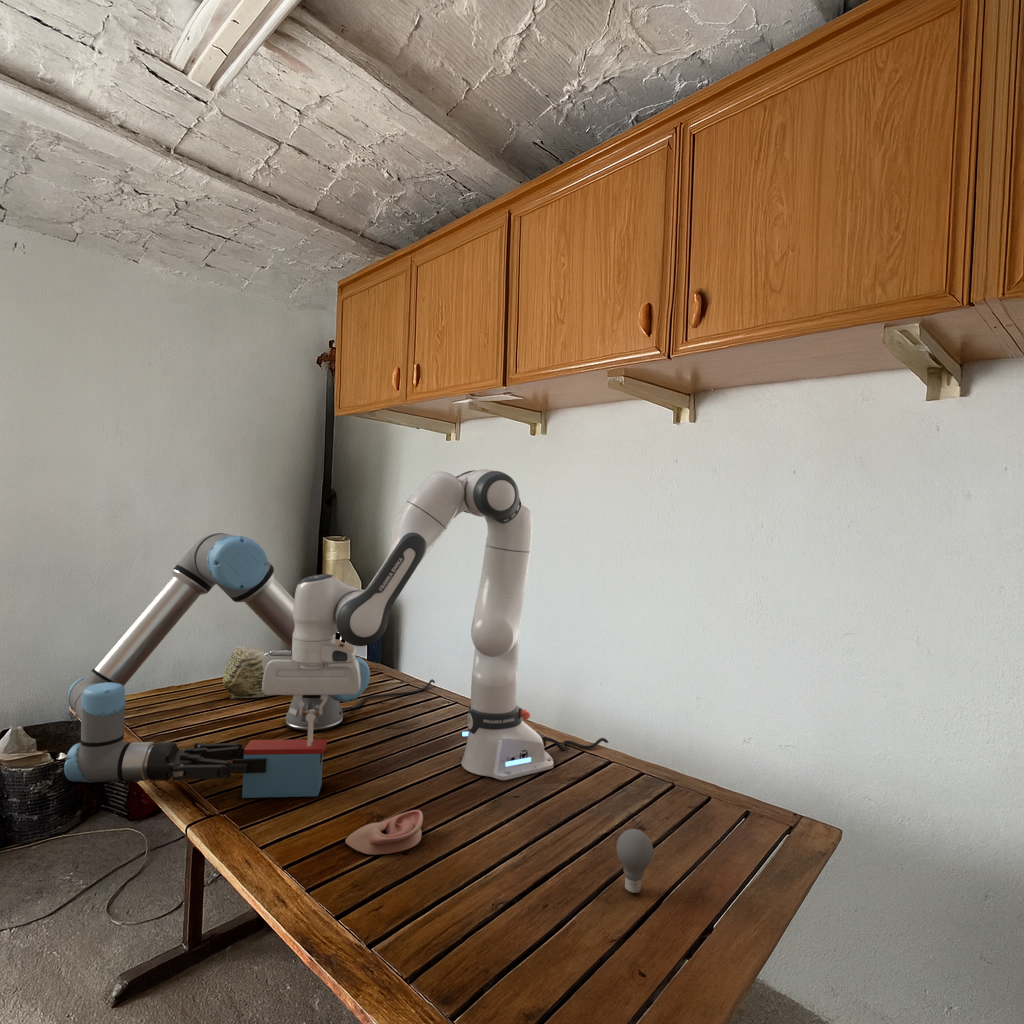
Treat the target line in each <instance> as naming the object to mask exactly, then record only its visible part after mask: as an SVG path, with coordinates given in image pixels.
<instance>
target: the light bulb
mask: <svg viewBox="0 0 1024 1024" xmlns="http://www.w3.org/2000/svg"><path fill="white" fill-rule="evenodd" d="M615 849H616V854H617V857H618V859H619V861H620V863H621V865H622V867H623V873H624V874H623V875H624V876H625V878H624V888H625V890H627V891H628V892H630V893H634V894H635V893H639V892H640V891H641V889H642V887H641V886H642V879H643V877H644V875H645V871H646V868H647V867H648V866H649V864H650V863H651V861H652V859H653V855H654V847H653V843H652V841H651V838H649V836H648V835H647V834H646V833H645V832H643V831H642V830H641V829H636V828H629V829H627V830H625V831H623V832H622V833H621V834H620V835H619V837H618V839H617V841H616V847H615Z"/></svg>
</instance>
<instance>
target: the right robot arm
mask: <svg viewBox="0 0 1024 1024" xmlns="http://www.w3.org/2000/svg"><path fill="white" fill-rule="evenodd" d="M463 512H464V513H466V514H471V515H473V516H476V517H481V518H484V519H485V522H486V526H487V536H486V541H485V547H484V553H483V559H482V568H481V575H480V580H479V583H478V584H479V585H478V590H477V595H476V599H475V605H474V610H473V617H472V621H471V628H470V636H471V641H472V643H473V644H472V645H474V652H473V663H472V671H471V686H470V687H471V689H470V703H469V705H468V713H467V730H468V731H462V733H461V734H462V735H461V736H462V737H467V738H466V745H465V749H464V753H463V756H462V758H461V762H460V765H461V767H462V768H463V769H464V770H465V771H467V772H469V773H472V774H474V775H478V776H482V777H490V778H493V779H496V780H500V781H509V780H512V779H516V778H520V777H524V776H529V775H532V774H536V773H542V772H544V771H549V770H552V769H553V768H554V767H555V765H554V763H555V762H554V758H553V757H552V756H551V755H550V754H549V753H548V752H547V751H546V750H545V747H547V742H550V743H553V744H555V745H556V746H557V747H558V749H560V750H561V751H564V750H565V749H566V745H572V746H575V747H578V748H580V749H585V750H589V749H593V748H596V747H597V746H598V745H599V744H600V743H602V742H604V743H605V744H608V743H609V741H608V740H607V738H605V737H600V738H598V739H597V740H595V742H594V743H592V744H587V745H585V744H581V743H578V742H575V741H574V740H563V741H562V742H561V743H560V742H559V741H557V740H556V739H554V738H551V737H547V736H545V735H544V734H542V733H541V732H539V731H538V730H537V731H536V730H534V728H533V727H531V726H530V725H528V724H527V723H526V722H525V721H527V720H529V719H530V718H531V713H530V712H529V711H528V710H527V709H523V708H522V707H521V706H519V705H517V693H518V691H517V690H518V673H519V671H518V670H519V657H520V641H521V640H520V638H521V617H522V612H523V606H524V605H523V604H524V599H525V592H526V587H527V580H528V573H529V566H530V560H531V552H532V543H533V515H532V512H531V511H530V509H529V508H528V507H526V506H525V505H524V504H522V501H521V498H520V491H519V487H518V486H517V483H516V482H515V480H514V479H513V478H512V477H511V476H510V475H508V474H507V473H505V472H503V471H500V470H493V469H478V470H476V469H475V470H468V471H465V472H463V473H461V474H459V475H457V476H455V475H453V474H452V473H449V472H447V471H442V470H441V471H439V470H438V471H435V472H433V473H431V474H430V475H429V476H428V477H427V478H426V479H425V480H424V481H423V482H422V483H420V485H419V486H418V487H417V488H416V489H415V490H414V491H413V492H412V494H411V495H410V496H409V497H408V499H407V500H406V502H405V503H404V504H403V506H402V507H401V509H400V510H399V512H398V513H397V516H396V517H395V520H394V521H393V524H392V526H391V545H390V549H389V552H388V554H387V557H386V558H385V560H384V562H383V564H382V565H381V567H380V568H379V570H378V571H377V572H376V574H375V575H374V577H373V579H372V580H371V581H370V583H369V584H368V585H367V587H366V588H365V589H361V588H358V587H354V586H352V585H350V584H347V583H345V582H343V581H341V580H339V579H338V578H337V577H335V576H334V575H333V574H329V573H324V574H323V573H320V574H314V575H311V576H309V575H308V576H307V577H305V578H303V579H301V580H300V581H299V582H298V583H297V585H296V587H295V588H296V589H295V593H294V597H293V599H294V609H293V619H294V623H295V629H294V632H293V636H292V650H291V649H283V650H282V649H281V650H277V649H271V650H270V651H268V652H265V653H266V654H265V655H264V656H263V661H262V666H263V669H264V670H265V671H264V676H263V682H262V691H263V693H264V694H265V695H272V696H294V695H295V701H296V703H297V705H298V706H299V708H300V715H307V714H308V705H304V703H303V701H302V697H303V695H321V700H323V701H322V702H321V704H320V705H316V707H315V715H322V714H323V706H324V704H325V703H326V701H327V699H328V697H329V695H356V694H357V693H358V692H359V691H360V687H361V676H360V667H359V663H358V661H357V659H356V658H355V656H356V655H357V649H356V647H366V646H369V645H372V644H374V643H376V642H378V641H379V640H380V639H381V638H382V636H383V635H384V634H385V632H386V630H387V628H388V624H389V619H390V614H391V611H392V608H393V605H394V604H395V602H396V601H397V599H398V597H399V596H400V594H401V593H402V591H403V590H404V588H405V587H406V585H407V583H408V582H409V580H410V579H411V577H412V576H413V574H414V572H415V571H416V569H417V568H418V566H419V565H420V564H421V562H422V561H423V560H424V559H425V557H427V555H428V554H429V553H430V551H431V550H432V549H433V548H434V547H435V545H436V544H437V543H438V541H439V540H440V539H441V538H442V537H443V535H444V534H445V532H446V531H447V530H448V528H449V527H450V525H451V524H452V522H453V521H454V519H456V518H457V516H458V515H459V514H461V513H463ZM337 633H338V634H339V637H341V639H342V640H343V641H344V642H343V641H341V640H340V641H341V642H340V641H337V640H338V639H337V640H335V639H336V634H337ZM345 642H346V643H345ZM523 720H524V721H523Z"/></svg>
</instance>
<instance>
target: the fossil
mask: <svg viewBox="0 0 1024 1024" xmlns="http://www.w3.org/2000/svg"><path fill="white" fill-rule="evenodd" d="M266 653H267V652H265V650H264V649H263V648H260V647H258V648H251V647H247V646H246V647H245V646H238V647H237V648H236V649H235V650H233V651H232V653H231V656H230V657H229V659H228V660H227V663H226V666H225V668H224V671H223V675H222V676H223V677H222V685H223V687H224V688H225V690H226V691H228V693H229V698H230V699H250V698H264V697H271V696H273V695H265V694H264V693H263V691H262V682H263V676H264V671H265V670H264V669H263V666H262V661H263V656H264V655H265V654H266Z"/></svg>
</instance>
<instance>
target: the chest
mask: <svg viewBox="0 0 1024 1024" xmlns="http://www.w3.org/2000/svg"><path fill="white" fill-rule="evenodd" d="M264 758H266V772H265V773H242V789H241V790H242V794H241V798H242V799H248V798H249V799H253V798H254V799H255V798H257V799H258V798H295V797H296V798H297V797H299V798H301V797H303V798H304V797H318V796H319V794H320V791H321V788H322V785H323V764H324V763H323V761H324V760H323V759H324V753H323V754H257V755H244V759H264Z"/></svg>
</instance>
